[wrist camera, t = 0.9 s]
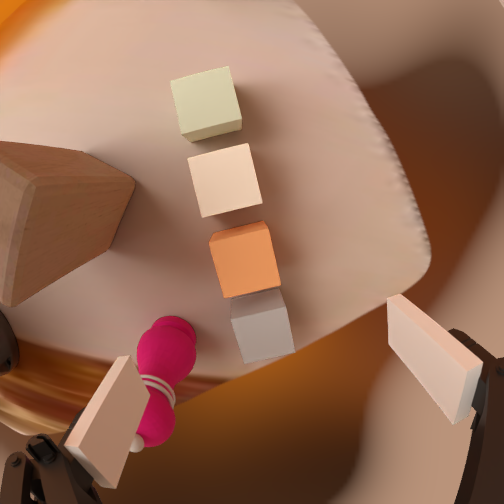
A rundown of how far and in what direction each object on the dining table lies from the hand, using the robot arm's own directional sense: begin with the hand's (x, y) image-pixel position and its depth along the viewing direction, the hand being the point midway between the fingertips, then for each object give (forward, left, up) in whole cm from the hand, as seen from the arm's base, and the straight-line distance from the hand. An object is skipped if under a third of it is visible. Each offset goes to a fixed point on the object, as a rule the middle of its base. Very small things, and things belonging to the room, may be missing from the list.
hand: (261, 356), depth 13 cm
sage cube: (0, +17, -23) cm, 28 cm away
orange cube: (0, 0, -23) cm, 23 cm away
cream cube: (0, +9, -23) cm, 24 cm away
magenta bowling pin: (-12, -9, -23) cm, 27 cm away
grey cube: (0, -8, -23) cm, 24 cm away
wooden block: (-17, +11, -23) cm, 31 cm away
